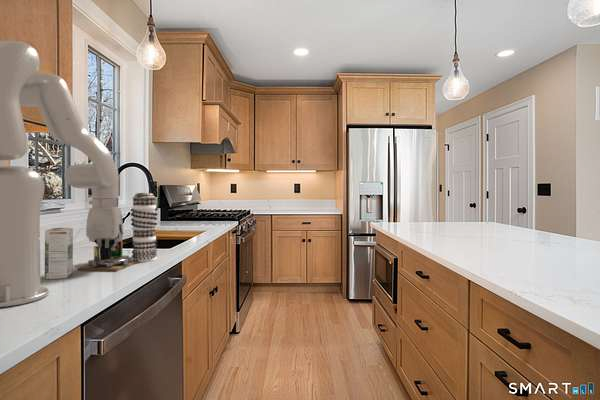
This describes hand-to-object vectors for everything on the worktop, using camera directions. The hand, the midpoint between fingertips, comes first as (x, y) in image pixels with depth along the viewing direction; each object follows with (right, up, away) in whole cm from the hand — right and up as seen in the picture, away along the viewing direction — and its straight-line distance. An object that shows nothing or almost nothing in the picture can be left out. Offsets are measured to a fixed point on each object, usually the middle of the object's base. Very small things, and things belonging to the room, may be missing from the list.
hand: (105, 259), depth 110 cm
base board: (-1, -3, +3) cm, 5 cm away
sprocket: (-1, -2, +4) cm, 5 cm away
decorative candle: (+6, -3, +15) cm, 16 cm away
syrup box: (-8, -4, -10) cm, 13 cm away
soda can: (-4, -3, +13) cm, 14 cm away
